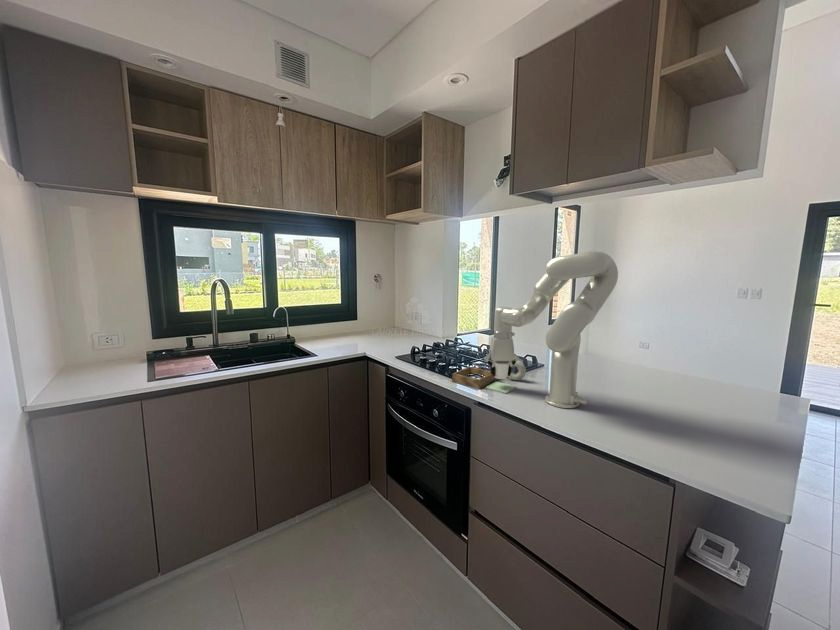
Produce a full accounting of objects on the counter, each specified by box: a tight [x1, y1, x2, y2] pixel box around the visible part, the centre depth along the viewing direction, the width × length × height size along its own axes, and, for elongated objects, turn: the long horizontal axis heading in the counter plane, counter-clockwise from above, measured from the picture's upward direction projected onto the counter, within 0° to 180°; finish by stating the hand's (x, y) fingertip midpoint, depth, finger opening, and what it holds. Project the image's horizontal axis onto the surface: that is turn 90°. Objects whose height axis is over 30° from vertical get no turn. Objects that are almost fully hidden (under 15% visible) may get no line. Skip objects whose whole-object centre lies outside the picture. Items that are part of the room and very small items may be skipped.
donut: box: [507, 359, 527, 381], centre depth 160 cm, size 10×4×10 cm, turn 58°
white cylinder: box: [494, 361, 509, 380], centre depth 149 cm, size 7×7×7 cm
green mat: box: [484, 381, 517, 395], centre depth 150 cm, size 10×10×1 cm
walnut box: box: [451, 366, 496, 390], centre depth 159 cm, size 15×15×4 cm
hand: (500, 374), depth 149 cm, fingers closed on white cylinder, 6 cm apart
